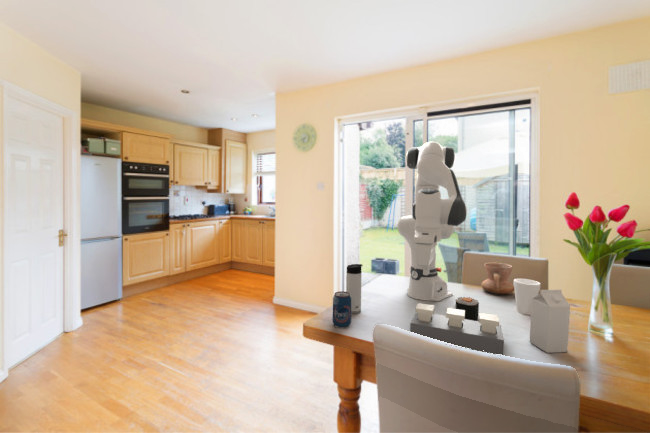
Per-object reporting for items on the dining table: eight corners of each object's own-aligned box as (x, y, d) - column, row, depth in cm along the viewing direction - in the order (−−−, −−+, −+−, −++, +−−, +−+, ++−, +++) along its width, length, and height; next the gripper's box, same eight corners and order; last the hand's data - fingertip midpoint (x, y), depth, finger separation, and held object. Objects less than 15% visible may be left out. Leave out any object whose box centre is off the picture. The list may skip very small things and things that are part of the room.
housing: (409, 336, 106) (410, 322, 106) (415, 323, 117) (416, 311, 117) (503, 355, 94) (504, 340, 94) (500, 339, 105) (500, 325, 104)
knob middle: (445, 328, 104) (446, 313, 103) (447, 322, 109) (447, 307, 108) (463, 331, 101) (464, 316, 101) (464, 325, 106) (465, 310, 106)
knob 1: (415, 322, 108) (415, 308, 108) (418, 317, 113) (418, 303, 113) (432, 325, 106) (432, 310, 105) (434, 320, 111) (434, 305, 110)
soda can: (334, 329, 112) (334, 297, 111) (331, 321, 118) (331, 291, 118) (353, 328, 113) (353, 296, 112) (348, 320, 119) (349, 290, 119)
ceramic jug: (484, 285, 167) (485, 260, 166) (515, 290, 159) (516, 263, 157) (477, 294, 153) (478, 266, 152) (511, 300, 144) (512, 271, 143)
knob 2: (478, 334, 99) (479, 318, 99) (478, 327, 105) (479, 312, 104) (498, 338, 97) (499, 321, 97) (497, 331, 102) (498, 315, 102)
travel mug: (361, 314, 126) (361, 266, 124) (345, 313, 127) (345, 265, 125) (362, 309, 132) (363, 263, 130) (347, 307, 133) (347, 262, 132)
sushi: (480, 318, 123) (481, 298, 122) (473, 324, 117) (473, 303, 116) (460, 312, 128) (460, 294, 128) (451, 318, 123) (452, 298, 122)
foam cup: (512, 306, 136) (513, 277, 135) (537, 310, 132) (539, 280, 131) (512, 313, 128) (514, 282, 127) (539, 317, 123) (541, 286, 122)
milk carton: (529, 342, 103) (532, 286, 101) (549, 341, 103) (552, 286, 102) (546, 353, 96) (549, 293, 94) (567, 352, 96) (571, 293, 95)
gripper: (422, 231, 118) (421, 267, 119) (413, 238, 100) (411, 280, 101) (440, 232, 115) (438, 268, 116) (433, 239, 97) (432, 282, 98)
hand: (426, 274), depth 108 cm, fingers closed
